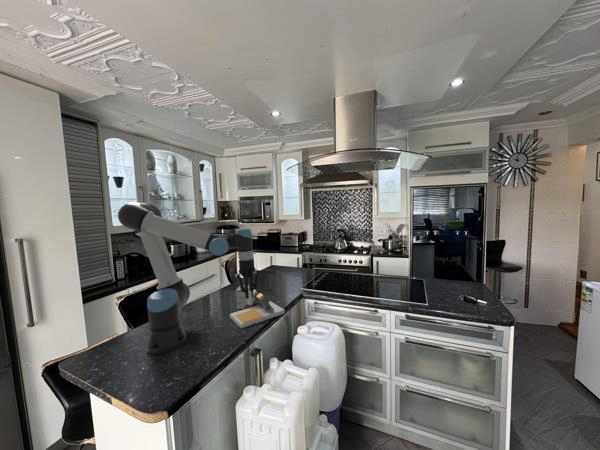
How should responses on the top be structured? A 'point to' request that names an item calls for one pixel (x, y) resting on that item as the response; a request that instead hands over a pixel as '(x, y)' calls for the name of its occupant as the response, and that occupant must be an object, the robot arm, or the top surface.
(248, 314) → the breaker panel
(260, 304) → the plain breaker
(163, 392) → the top surface
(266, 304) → the tagged breaker
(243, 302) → the ink box
